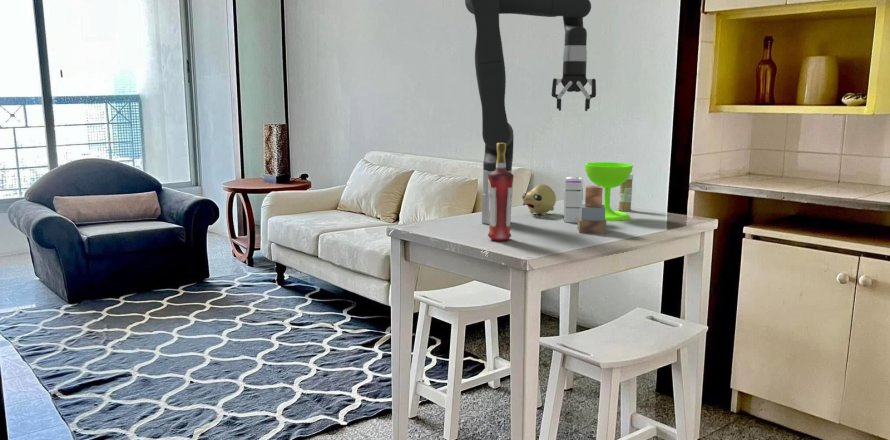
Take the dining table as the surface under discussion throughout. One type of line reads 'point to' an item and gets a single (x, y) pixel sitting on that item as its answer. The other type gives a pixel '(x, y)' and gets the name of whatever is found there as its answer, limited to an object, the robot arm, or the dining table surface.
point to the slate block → (592, 213)
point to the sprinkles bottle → (625, 195)
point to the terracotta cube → (593, 196)
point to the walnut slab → (591, 226)
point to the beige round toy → (540, 199)
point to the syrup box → (573, 198)
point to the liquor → (500, 198)
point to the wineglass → (609, 183)
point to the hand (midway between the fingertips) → (573, 110)
